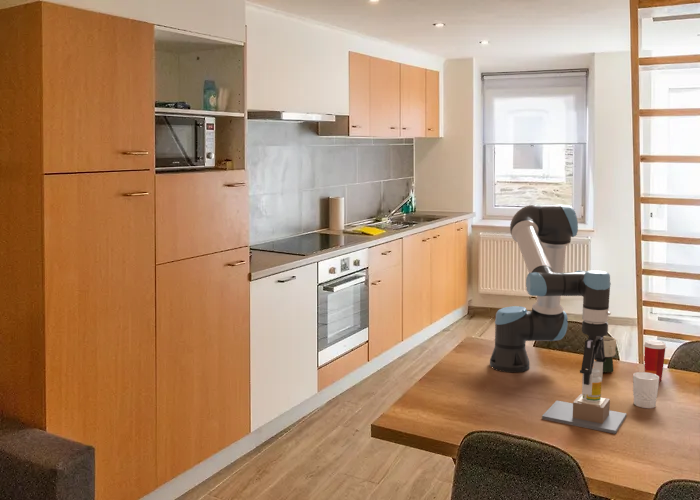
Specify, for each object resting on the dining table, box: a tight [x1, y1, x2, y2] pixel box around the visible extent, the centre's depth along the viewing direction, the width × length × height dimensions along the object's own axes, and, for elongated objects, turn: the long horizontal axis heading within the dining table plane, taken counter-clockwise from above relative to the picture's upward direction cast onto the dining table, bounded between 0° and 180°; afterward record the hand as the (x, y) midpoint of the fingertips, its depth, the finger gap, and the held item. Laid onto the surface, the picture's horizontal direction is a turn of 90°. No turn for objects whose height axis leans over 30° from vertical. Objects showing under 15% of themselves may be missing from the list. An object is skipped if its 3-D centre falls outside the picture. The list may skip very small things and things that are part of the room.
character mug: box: [602, 335, 617, 374], centre depth 258 cm, size 11×7×13 cm, turn 6°
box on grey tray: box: [541, 393, 627, 434], centre depth 214 cm, size 22×16×6 cm
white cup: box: [632, 371, 660, 409], centre depth 224 cm, size 8×8×10 cm
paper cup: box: [643, 339, 667, 382], centre depth 249 cm, size 8×8×14 cm
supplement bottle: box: [583, 368, 603, 402], centre depth 212 cm, size 5×5×10 cm
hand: (592, 387), depth 212 cm, fingers open, 13 cm apart
